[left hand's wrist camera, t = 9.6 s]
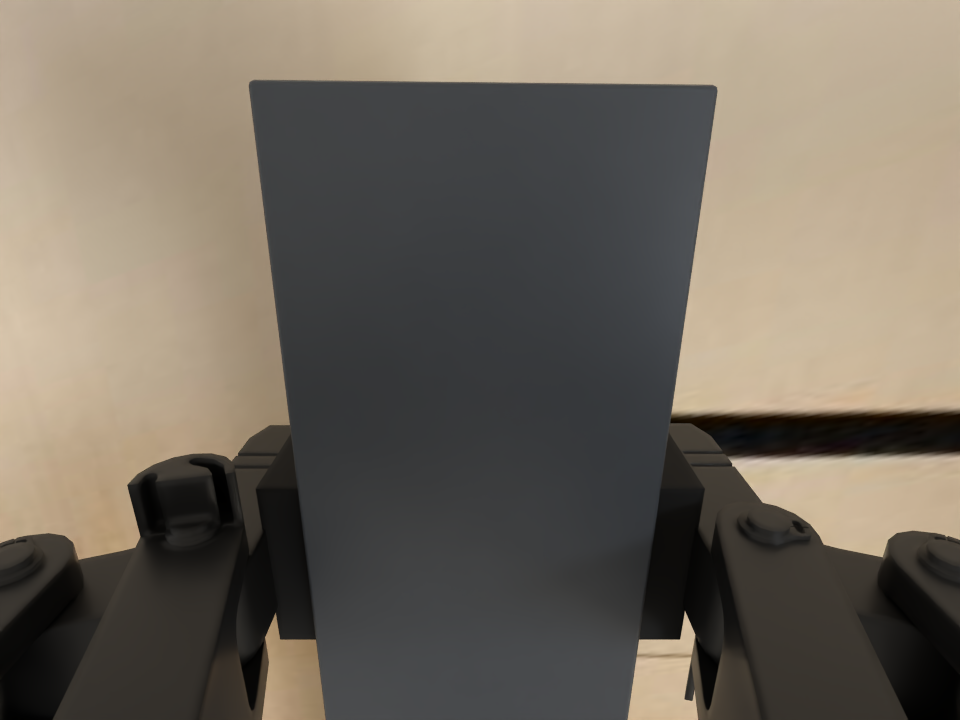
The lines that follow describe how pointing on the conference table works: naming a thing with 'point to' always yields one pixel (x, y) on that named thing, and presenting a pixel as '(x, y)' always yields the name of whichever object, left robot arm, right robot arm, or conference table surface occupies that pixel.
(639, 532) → the beam
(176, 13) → the conference table surface
